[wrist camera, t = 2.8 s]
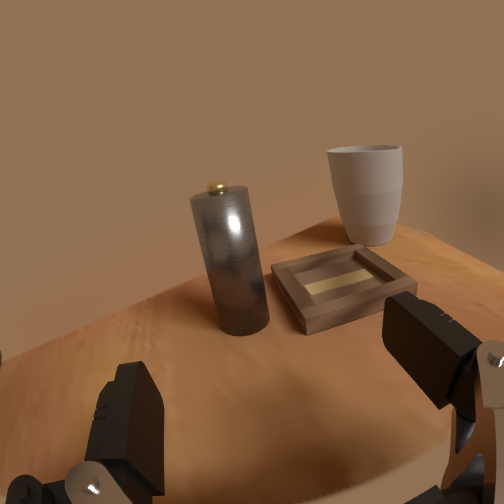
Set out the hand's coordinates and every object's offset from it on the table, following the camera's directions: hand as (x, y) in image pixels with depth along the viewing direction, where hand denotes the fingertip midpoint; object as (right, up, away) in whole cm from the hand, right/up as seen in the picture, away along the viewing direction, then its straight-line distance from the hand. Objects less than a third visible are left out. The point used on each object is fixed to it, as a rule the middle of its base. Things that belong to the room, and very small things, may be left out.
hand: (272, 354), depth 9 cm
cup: (+13, +5, +23) cm, 26 cm away
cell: (-1, -2, +13) cm, 13 cm away
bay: (+6, 0, +14) cm, 16 cm away
